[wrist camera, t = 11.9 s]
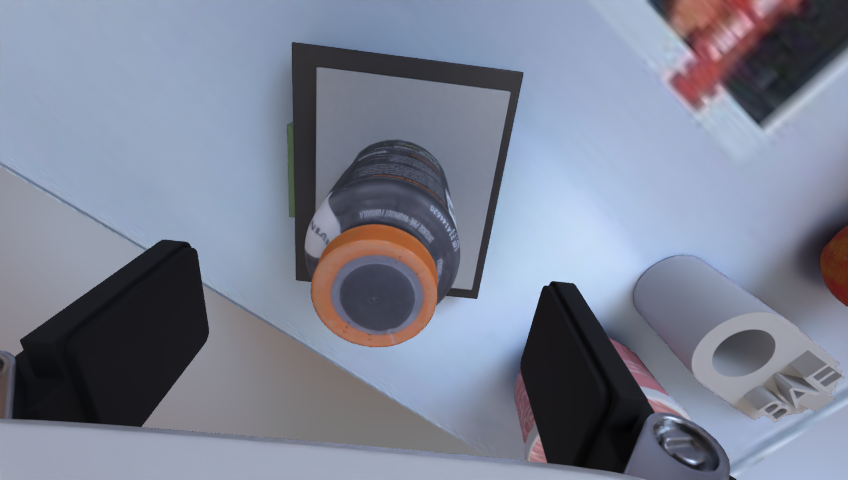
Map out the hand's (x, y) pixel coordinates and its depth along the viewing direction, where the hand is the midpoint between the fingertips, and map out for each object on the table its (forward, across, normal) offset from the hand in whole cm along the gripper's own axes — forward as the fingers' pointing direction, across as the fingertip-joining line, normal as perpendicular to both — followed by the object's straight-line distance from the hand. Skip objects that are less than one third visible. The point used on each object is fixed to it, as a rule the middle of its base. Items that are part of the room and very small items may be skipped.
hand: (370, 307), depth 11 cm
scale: (+16, 0, +1) cm, 16 cm away
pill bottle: (+13, 0, +1) cm, 13 cm away
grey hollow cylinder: (+16, -26, +10) cm, 32 cm away
